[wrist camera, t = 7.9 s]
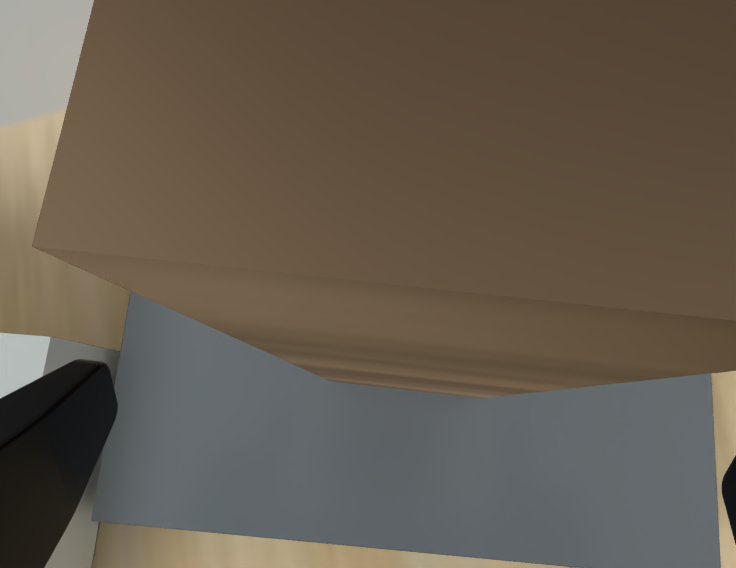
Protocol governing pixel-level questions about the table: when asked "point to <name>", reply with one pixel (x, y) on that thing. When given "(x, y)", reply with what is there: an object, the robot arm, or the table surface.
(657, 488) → the slate board
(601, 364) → the walnut handle
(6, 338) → the box
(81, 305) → the table surface
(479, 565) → the table surface
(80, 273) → the table surface
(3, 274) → the table surface
